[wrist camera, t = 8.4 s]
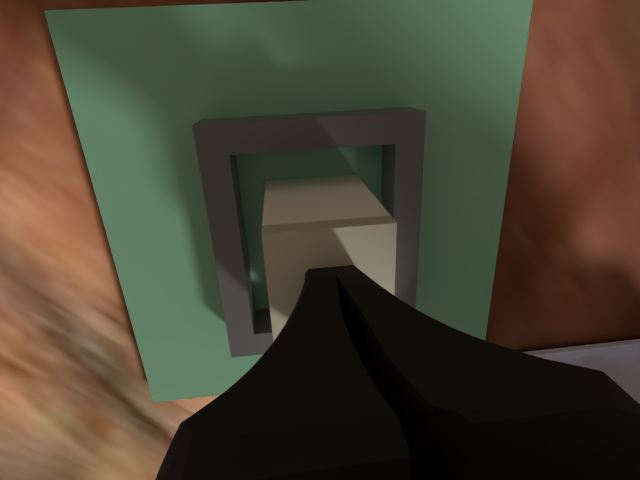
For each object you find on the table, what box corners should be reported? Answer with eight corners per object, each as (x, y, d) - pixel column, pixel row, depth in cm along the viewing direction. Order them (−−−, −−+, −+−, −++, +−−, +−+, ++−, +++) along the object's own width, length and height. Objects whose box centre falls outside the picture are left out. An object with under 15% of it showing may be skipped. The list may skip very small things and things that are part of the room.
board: (520, -4, 14) (570, -20, 12) (474, 354, 20) (500, 390, 18) (56, 14, 13) (7, -1, 11) (158, 389, 19) (141, 434, 17)
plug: (356, 174, 15) (396, 223, 10) (357, 286, 17) (391, 374, 12) (265, 180, 15) (261, 234, 10) (277, 294, 17) (278, 387, 12)
